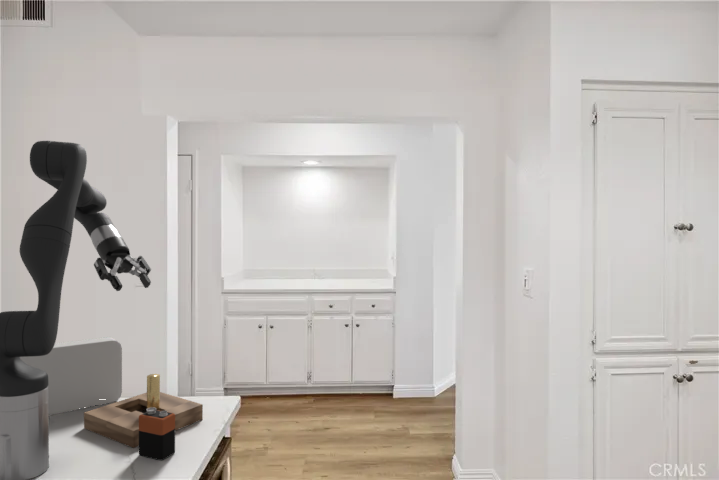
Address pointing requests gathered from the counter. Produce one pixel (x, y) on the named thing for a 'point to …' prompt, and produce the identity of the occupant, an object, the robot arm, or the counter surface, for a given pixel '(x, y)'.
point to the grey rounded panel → (81, 373)
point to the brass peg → (153, 391)
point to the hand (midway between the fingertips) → (134, 287)
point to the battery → (156, 434)
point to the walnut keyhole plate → (124, 417)
